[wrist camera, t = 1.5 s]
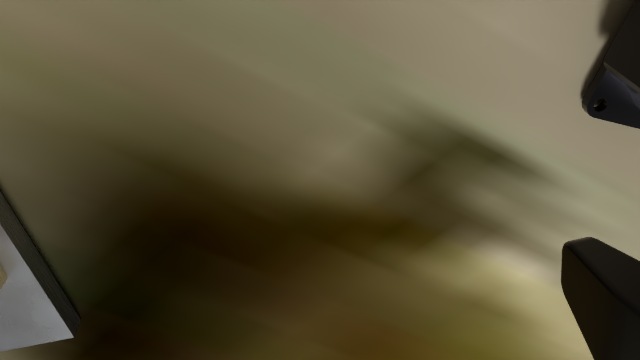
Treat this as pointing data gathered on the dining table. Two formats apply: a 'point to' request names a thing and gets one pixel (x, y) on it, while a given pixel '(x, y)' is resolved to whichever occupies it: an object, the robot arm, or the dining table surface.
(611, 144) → the dining table surface
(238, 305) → the dining table surface
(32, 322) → the bolt plate
